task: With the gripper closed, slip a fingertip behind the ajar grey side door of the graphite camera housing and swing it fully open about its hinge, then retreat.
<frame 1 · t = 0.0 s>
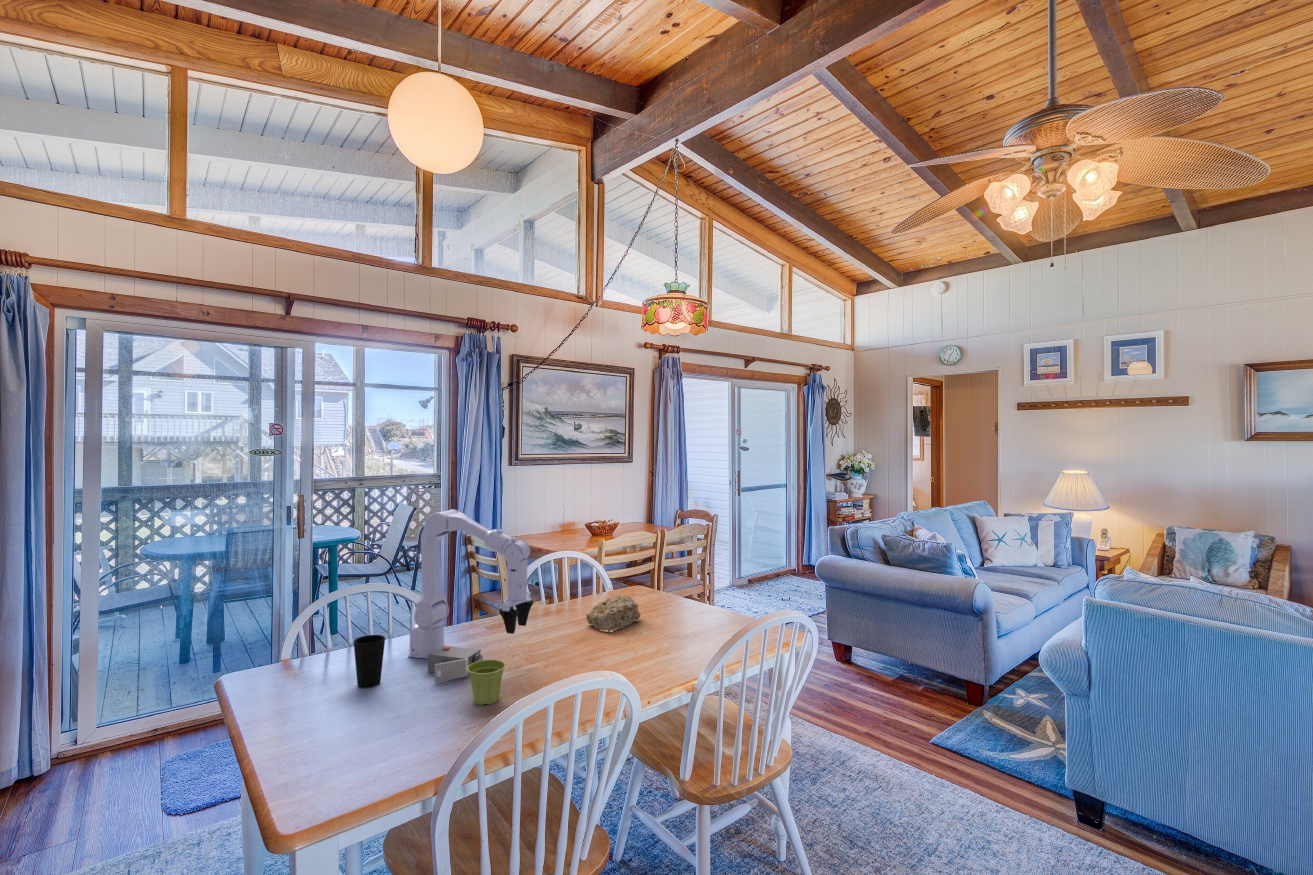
hand: (516, 629, 183), 10 cm above the table, fingers open, 7 cm apart
rock: (614, 624, 223), on the table
cup: (369, 684, 167), on the table
plant pot: (486, 701, 157), on the table
side door: (451, 670, 170), point 3 cm above the table, hinge at 45.0°
camera body: (454, 669, 178), on the table
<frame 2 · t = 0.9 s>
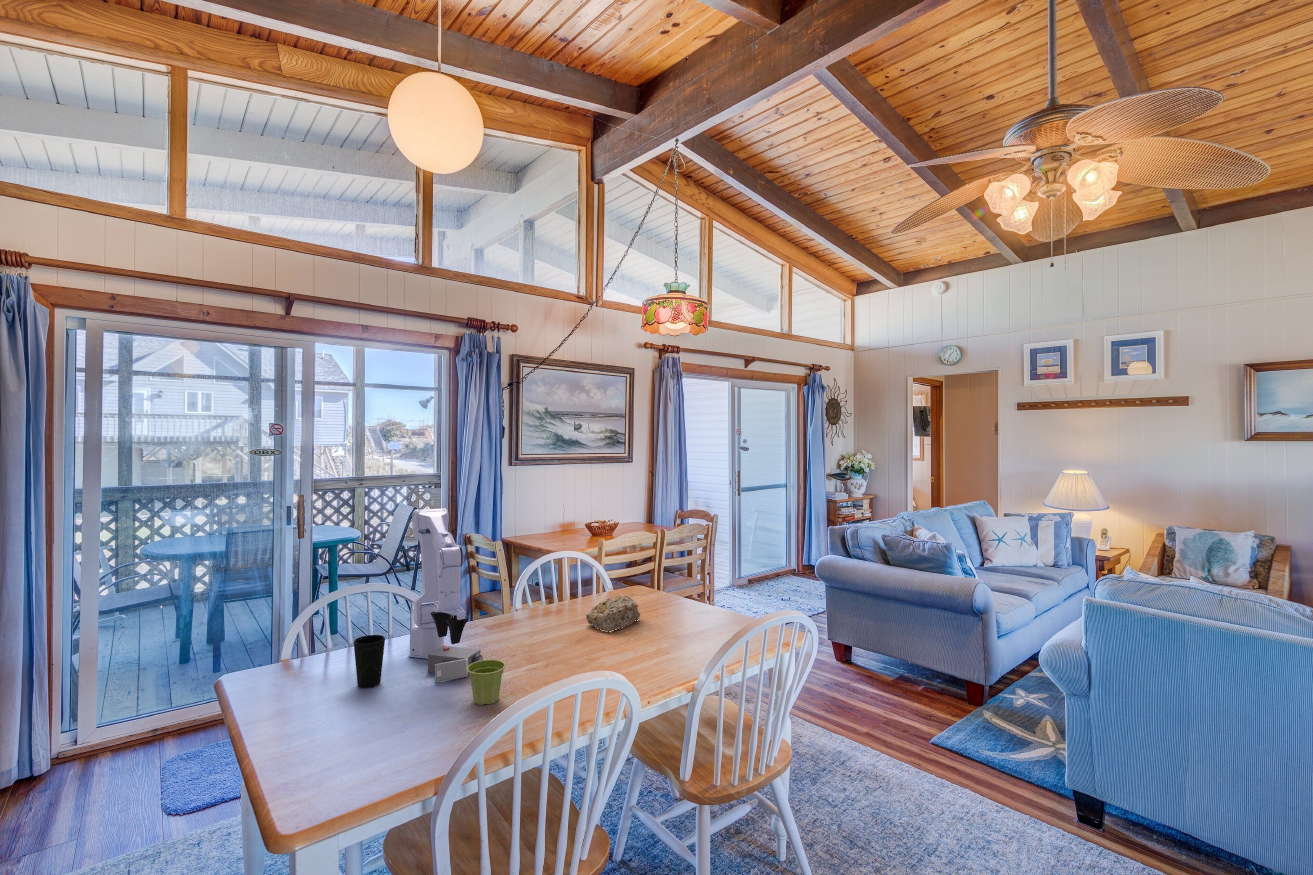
hand: (448, 639, 172), 10 cm above the table, fingers open, 7 cm apart
nothing on the table moved.
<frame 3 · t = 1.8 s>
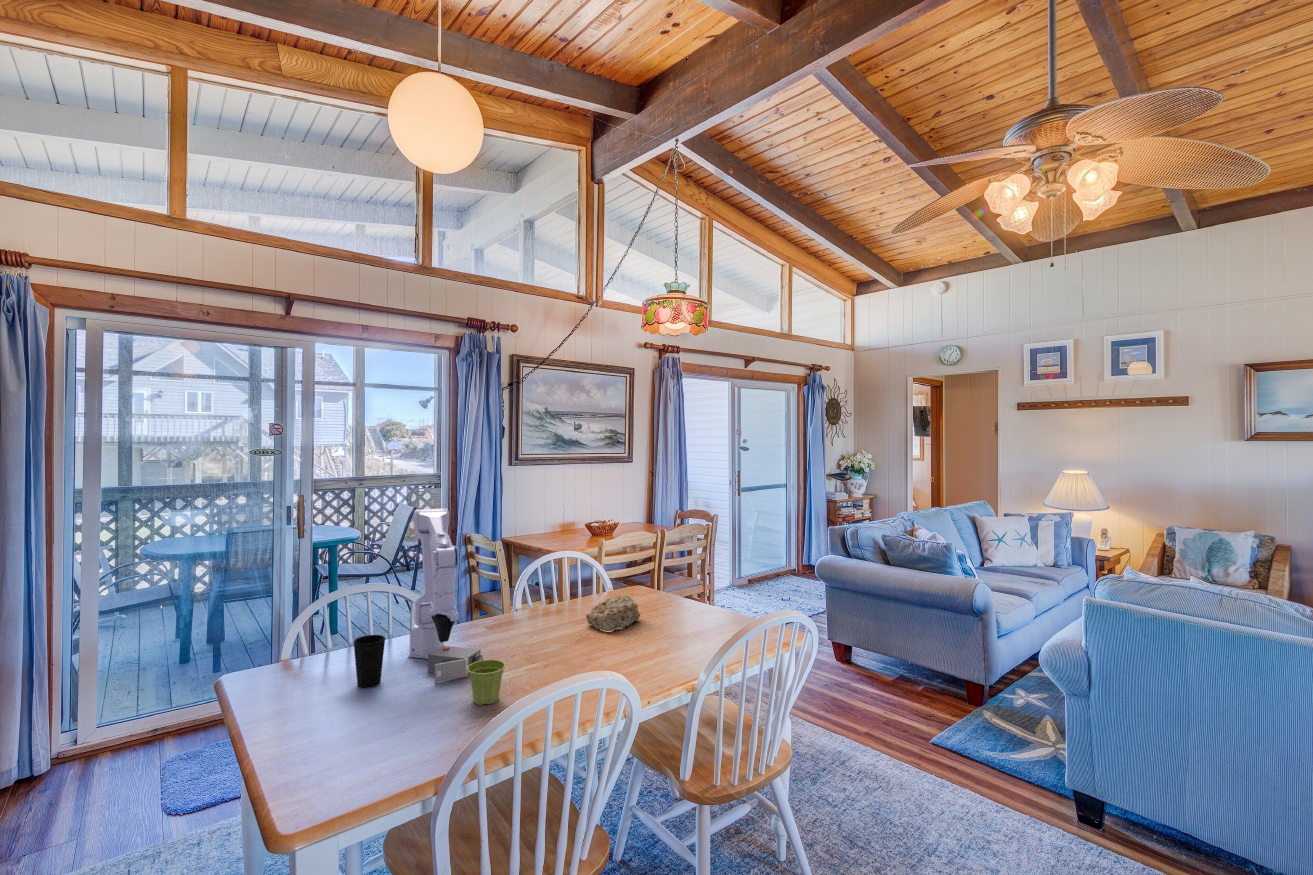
hand: (443, 641, 171), 10 cm above the table, fingers closed
nothing on the table moved.
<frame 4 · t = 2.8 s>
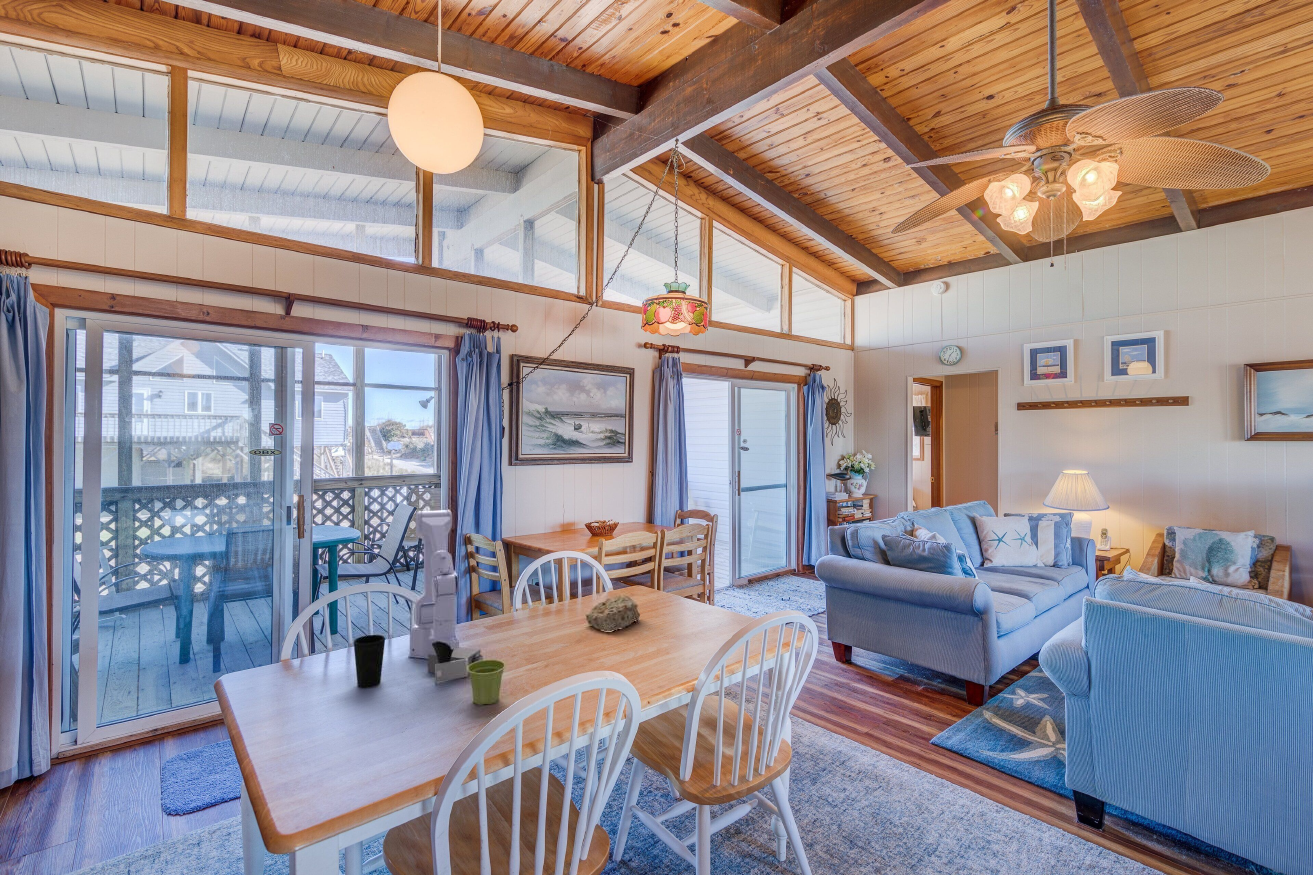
hand: (444, 668, 170), 3 cm above the table, fingers closed, pressing on side door
side door: (451, 670, 170), point 3 cm above the table, hinge at 45.3°, touching gripper
everything else where it was.
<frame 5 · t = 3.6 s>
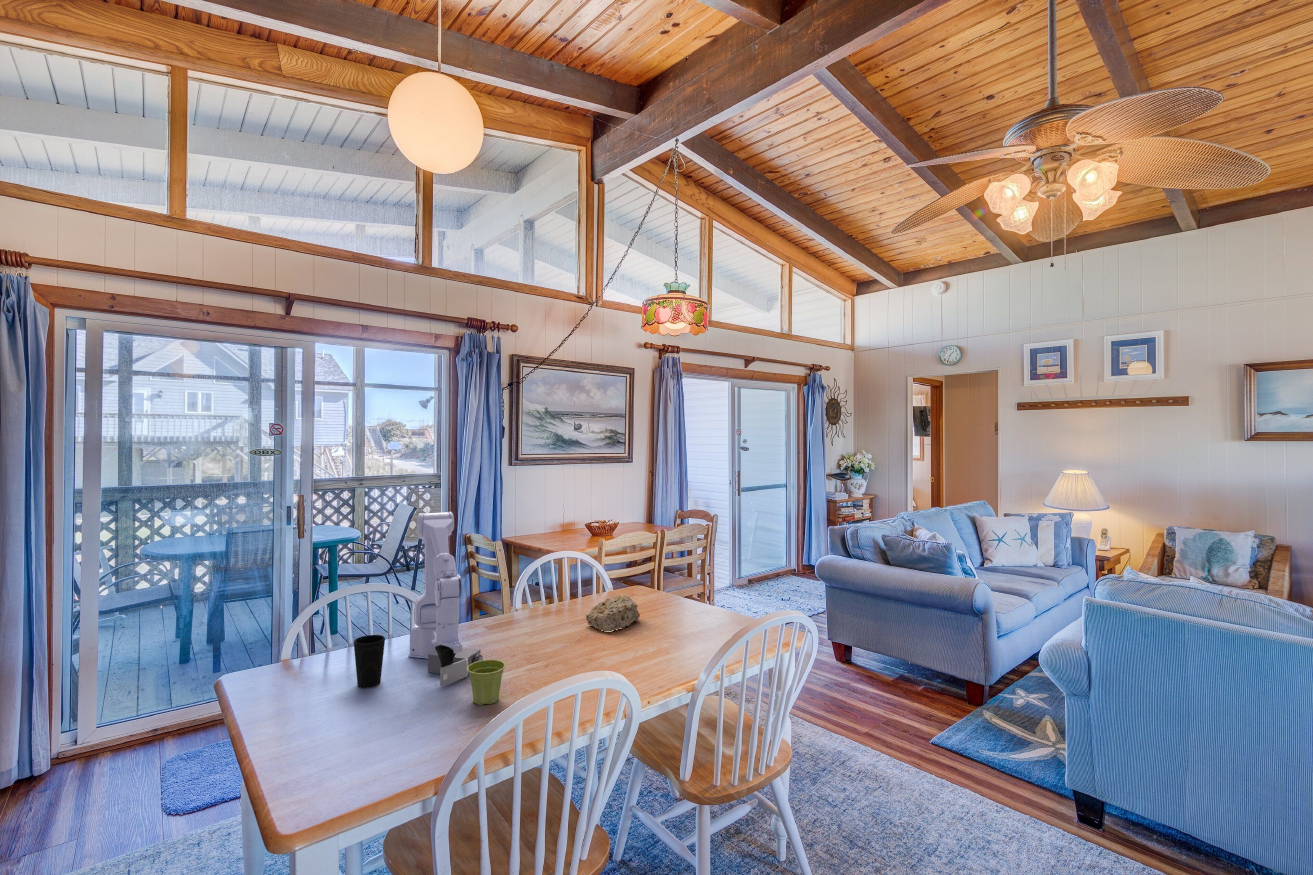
hand: (446, 671, 168), 3 cm above the table, fingers closed, pressing on side door
side door: (454, 672, 168), point 3 cm above the table, hinge at 69.5°, touching gripper
everything else where it was.
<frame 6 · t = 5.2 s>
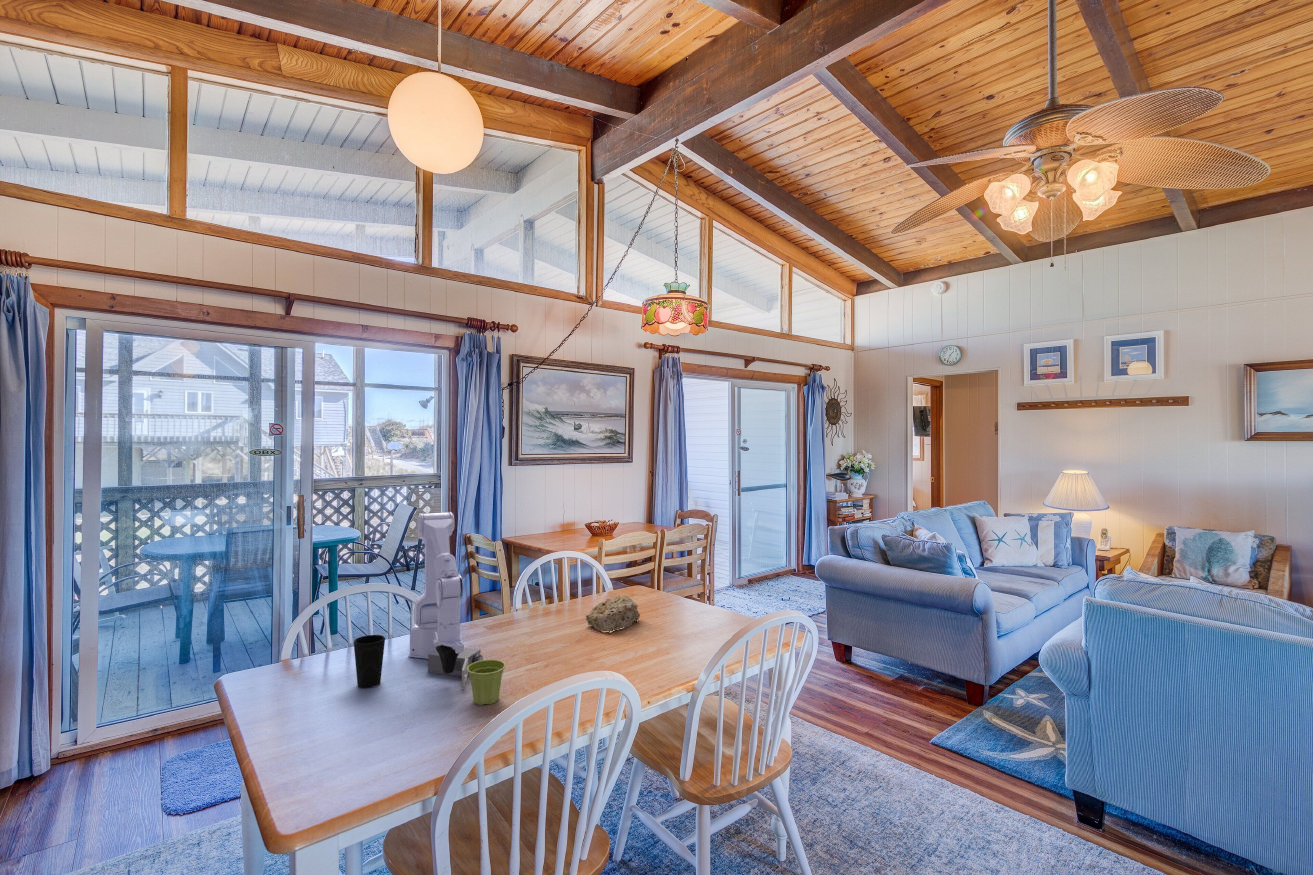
hand: (448, 672, 167), 3 cm above the table, fingers closed
side door: (465, 673, 168), point 3 cm above the table, hinge at 114.5°
everything else where it was.
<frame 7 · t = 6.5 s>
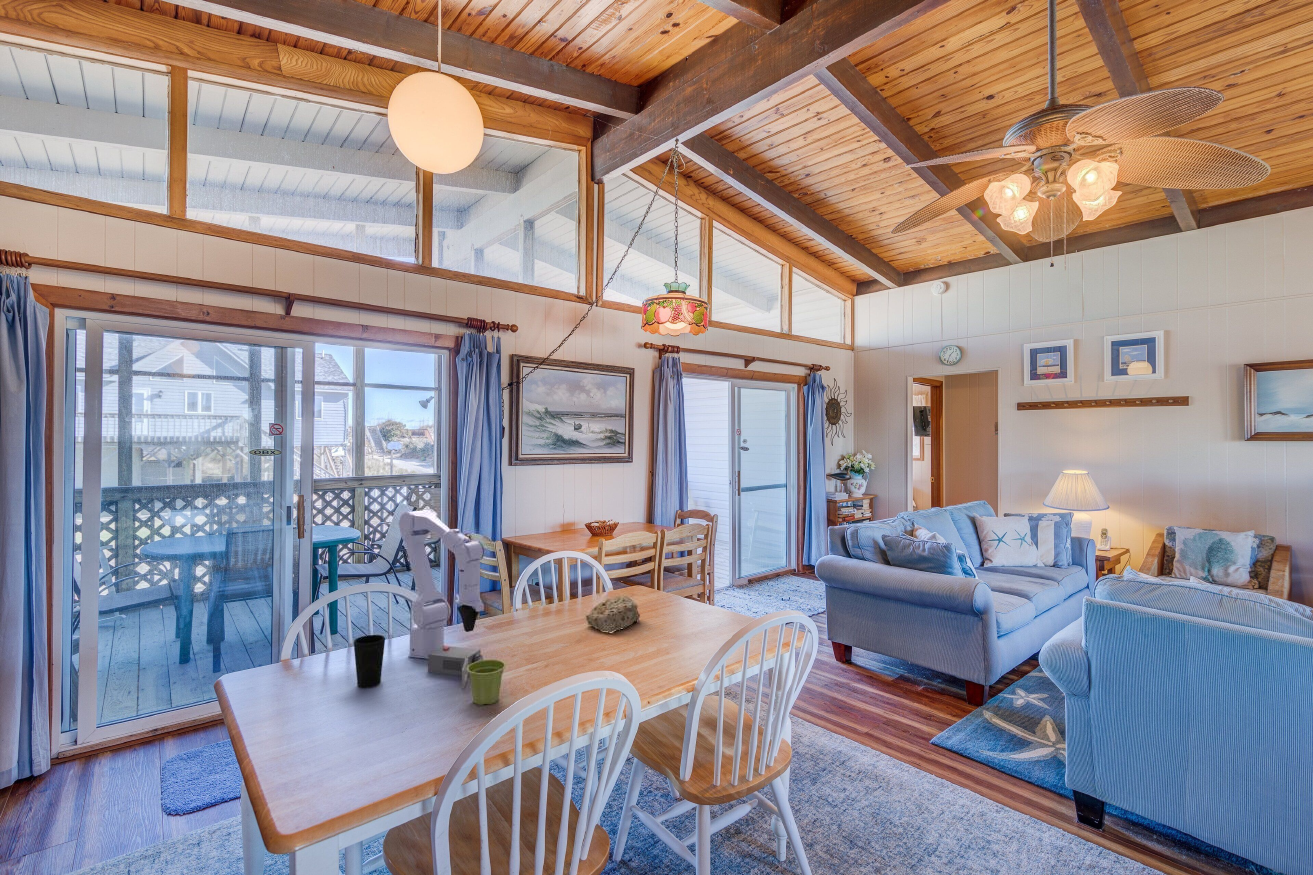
hand: (468, 630, 180), 10 cm above the table, fingers closed
nothing on the table moved.
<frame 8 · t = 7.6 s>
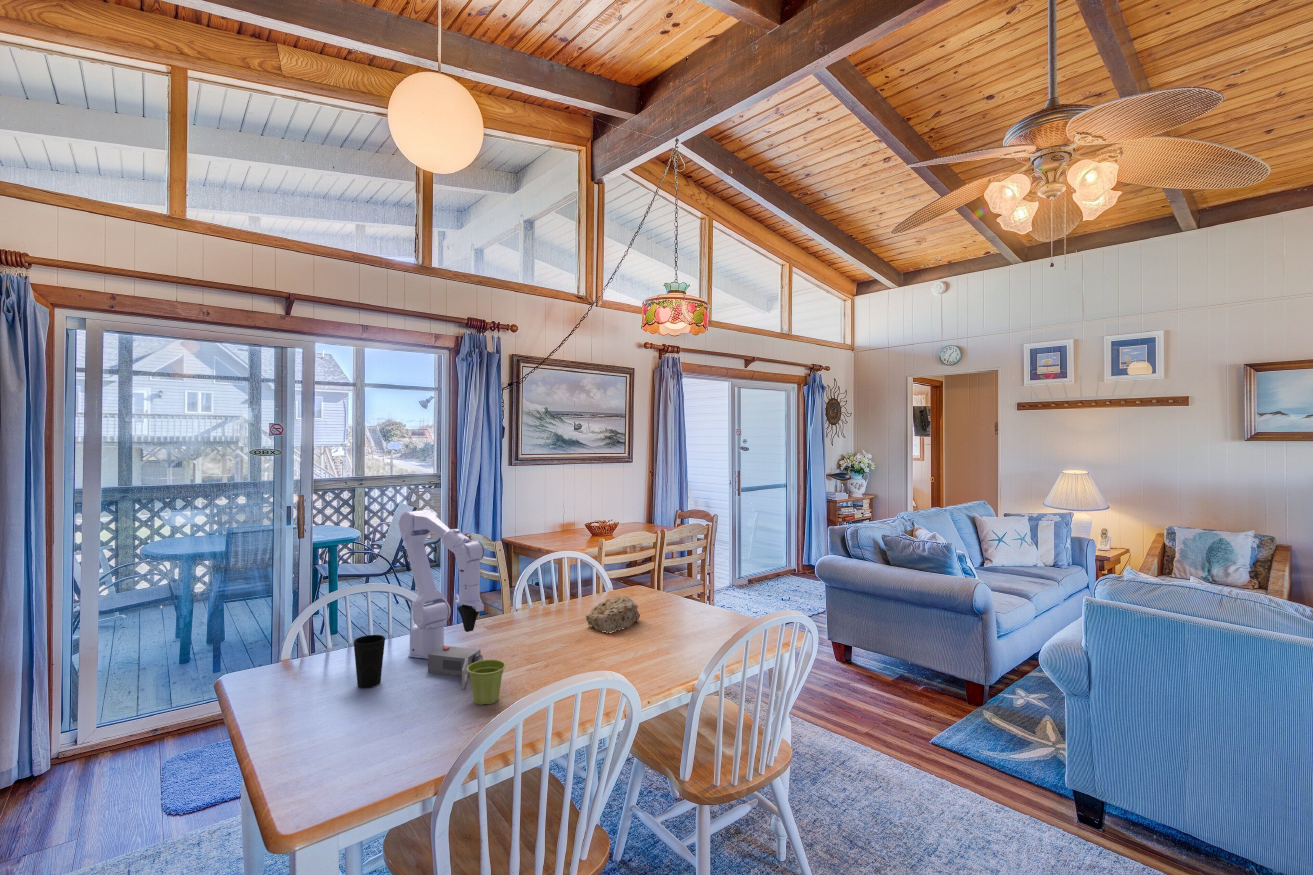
hand: (468, 630, 180), 10 cm above the table, fingers closed
at the end: side door at +115° (first picture: +45°); side door touching nothing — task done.
